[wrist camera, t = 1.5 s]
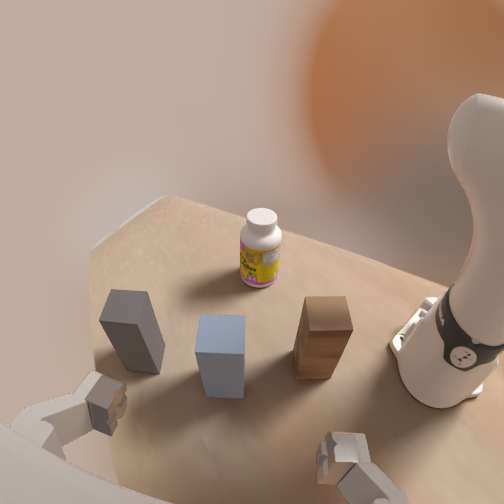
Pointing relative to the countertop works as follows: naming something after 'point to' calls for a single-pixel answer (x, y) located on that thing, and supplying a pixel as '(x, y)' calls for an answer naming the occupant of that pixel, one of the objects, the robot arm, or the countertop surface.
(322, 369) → the walnut block
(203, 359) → the slate-blue block
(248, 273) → the supplement bottle
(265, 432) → the countertop surface
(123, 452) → the countertop surface
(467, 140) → the robot arm
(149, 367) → the charcoal block
